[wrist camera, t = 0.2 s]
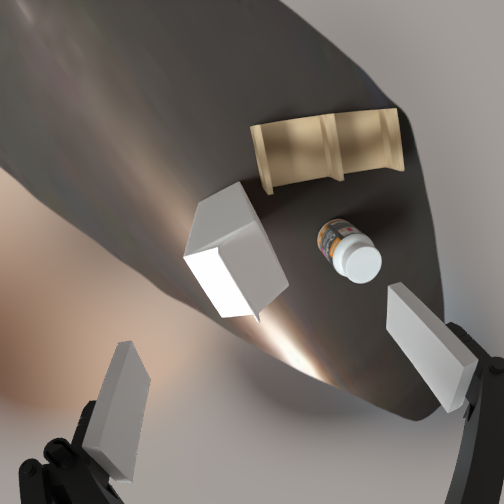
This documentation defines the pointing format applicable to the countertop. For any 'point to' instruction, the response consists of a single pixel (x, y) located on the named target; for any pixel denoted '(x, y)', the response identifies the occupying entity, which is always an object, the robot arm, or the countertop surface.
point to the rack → (327, 146)
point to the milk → (233, 255)
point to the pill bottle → (349, 251)
